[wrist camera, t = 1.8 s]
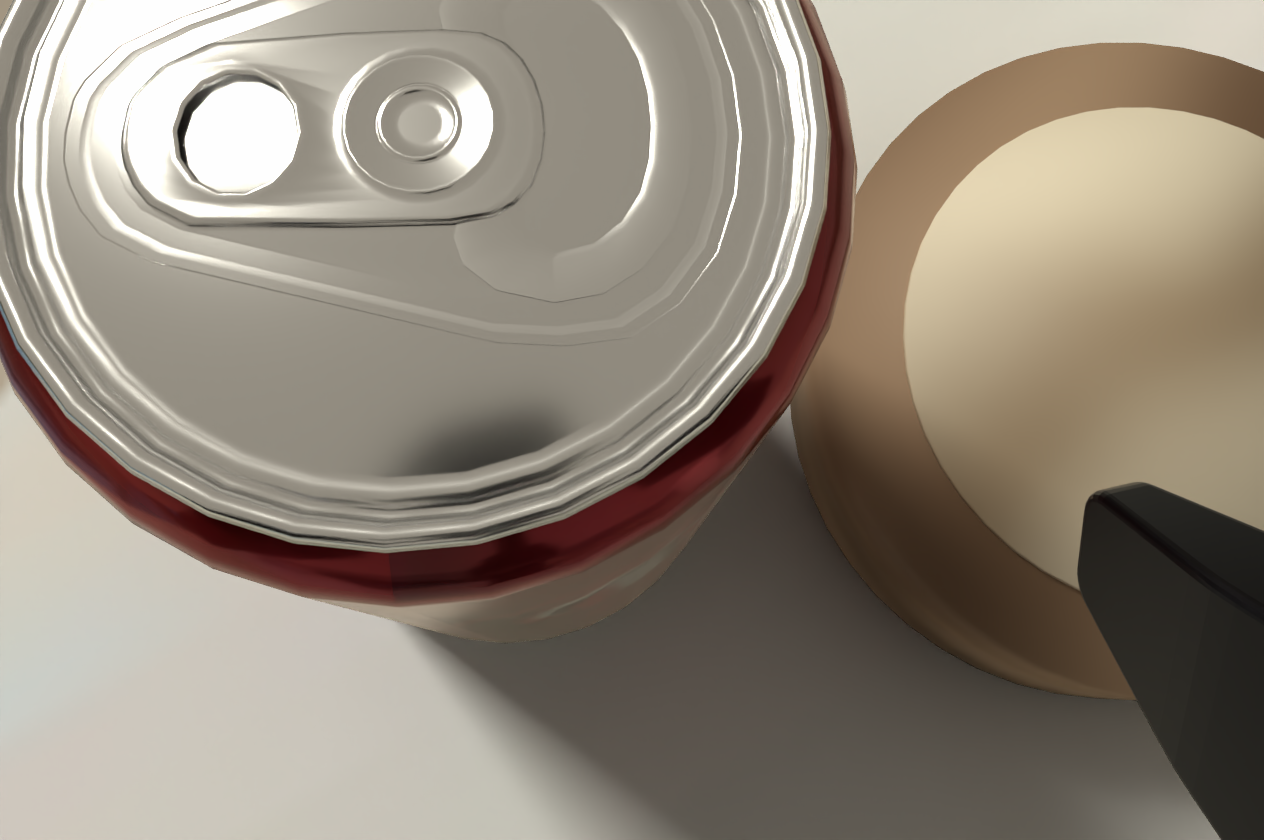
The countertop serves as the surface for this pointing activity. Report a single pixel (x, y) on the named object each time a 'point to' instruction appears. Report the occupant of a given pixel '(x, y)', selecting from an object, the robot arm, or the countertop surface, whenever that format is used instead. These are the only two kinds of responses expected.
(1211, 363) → the pedestal
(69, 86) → the soda can
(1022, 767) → the countertop surface
